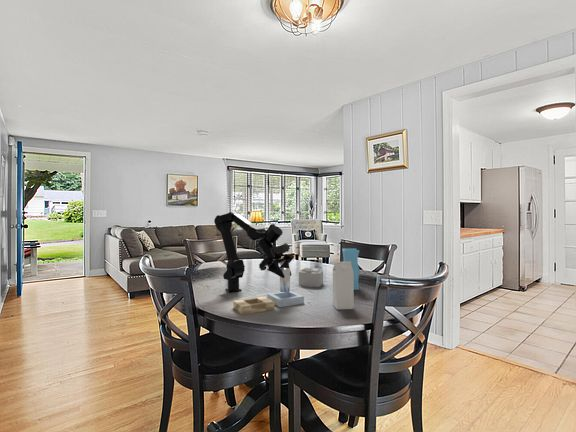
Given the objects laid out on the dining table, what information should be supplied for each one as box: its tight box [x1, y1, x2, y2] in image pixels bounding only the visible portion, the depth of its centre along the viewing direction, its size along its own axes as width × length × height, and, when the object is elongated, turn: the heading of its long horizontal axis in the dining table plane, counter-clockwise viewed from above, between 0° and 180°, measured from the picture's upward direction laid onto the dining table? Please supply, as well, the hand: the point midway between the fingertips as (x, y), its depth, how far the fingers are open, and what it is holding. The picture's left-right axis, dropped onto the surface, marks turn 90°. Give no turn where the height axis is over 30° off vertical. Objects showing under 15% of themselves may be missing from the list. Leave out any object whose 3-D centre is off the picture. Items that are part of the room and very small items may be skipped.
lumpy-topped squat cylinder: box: [298, 266, 324, 288], centre depth 180 cm, size 10×13×9 cm
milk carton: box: [332, 261, 355, 311], centre depth 137 cm, size 7×7×19 cm
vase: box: [341, 247, 361, 291], centre depth 170 cm, size 8×8×20 cm
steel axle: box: [279, 267, 291, 292], centre depth 146 cm, size 4×4×10 cm
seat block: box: [266, 289, 305, 308], centre depth 146 cm, size 12×12×3 cm
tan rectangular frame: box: [232, 295, 276, 316], centre depth 136 cm, size 10×14×3 cm
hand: (287, 276), depth 145 cm, fingers closed on steel axle, 4 cm apart
